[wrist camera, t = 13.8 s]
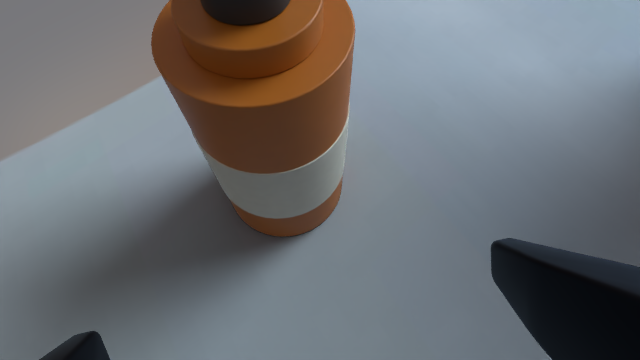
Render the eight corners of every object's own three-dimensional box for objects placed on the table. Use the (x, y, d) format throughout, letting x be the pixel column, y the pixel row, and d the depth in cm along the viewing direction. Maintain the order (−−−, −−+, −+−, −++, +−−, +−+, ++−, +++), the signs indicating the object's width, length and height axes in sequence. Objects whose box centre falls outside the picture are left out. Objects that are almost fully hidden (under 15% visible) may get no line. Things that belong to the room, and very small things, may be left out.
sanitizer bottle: (354, 224, 18) (410, -51, 7) (235, 249, 18) (57, 0, 6) (328, 128, 21) (333, -193, 9) (224, 147, 21) (84, -166, 9)
